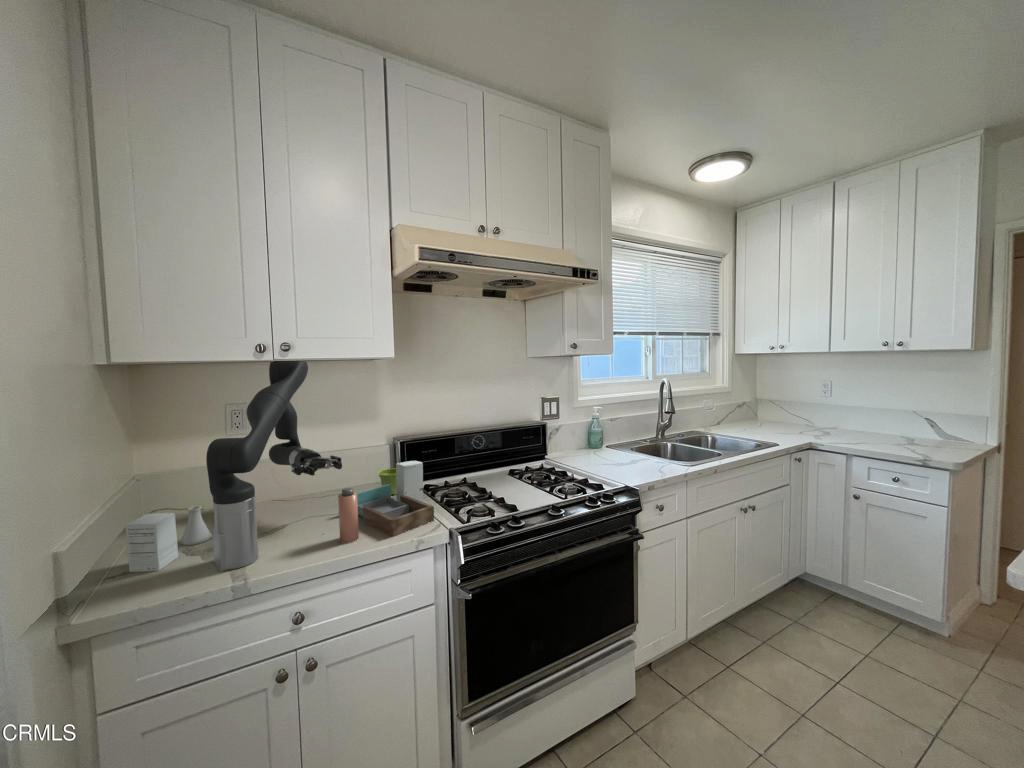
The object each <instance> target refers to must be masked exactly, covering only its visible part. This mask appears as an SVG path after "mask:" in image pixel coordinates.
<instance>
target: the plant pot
mask: <svg viewBox="0 0 1024 768" xmlns="http://www.w3.org/2000/svg"><path fill="white" fill-rule="evenodd" d="M377 474H378V476H379V478H380V482H381V486H384V485H388V484H390V485H391V496H392V495H397V493H396V467H395V468H385V469H381V470H379V471H378V472H377Z"/></svg>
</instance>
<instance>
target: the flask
mask: <svg viewBox="0 0 1024 768" xmlns="http://www.w3.org/2000/svg"><path fill="white" fill-rule="evenodd" d="M186 510H187V512H188V519H187V524H186V526H185V529H184V532H183V535H182V537H181V540H180V542H179V544H182V545H183V546H192V545H193V546H194V545H199V544H202V543H204V542H207V541H208V540H210V539H211V538H213V534H212V533H211V531H210V529H208V527H207V524H206V523H205V521H204V519H203V516H202V514H201V513H202V511H201V510H202V506H201V505H196V506H195V505H194V506H191V507H189V508H187V509H186Z"/></svg>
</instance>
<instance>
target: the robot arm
mask: <svg viewBox="0 0 1024 768" xmlns="http://www.w3.org/2000/svg"><path fill="white" fill-rule="evenodd" d="M268 367H269V368H268V377H269V382H270V383H269V384H270V385H268V386H266V387H263V388H262V389H260V390H259V391H257V393H256V394H255V395H254V396H253V398H252V399H251V400H250V402H249V403H248V405H247V407H246V418H247V420H248V423H249V425H250V428H251V430H250V431H249V433H248V435H246V436H244V437H222V438H215V439H214V440H212V441H211V442H210V443H209V446H208V447H207V450H206V461H205V462H206V469H207V477H208V484H209V492H210V494H211V496H212V504H213V506H212V507H213V519H214V521H213V522H214V528H212V540H213V541H212V542H213V543H212V544H213V558H214V565H215V566H216V567H217V568H218V569H219V570H220V572H224V571H228V570H229V571H230V570H235V569H240V568H244V567H246V566H248V565H250V564H252V563H255V562H256V561H257V560H258V558H259V545H258V544H259V543H258V541H259V540H258V528H257V527H258V524H257V523H258V522H257V510H256V509H257V507H256V492H255V491H256V490H255V485H253V483H251V482H248V481H245V480H243V479H240V478H239V477H237V476H236V475H235V474H246V473H250V472H252V471H253V470H254V469H255V468H256V467H257V466H258V464H259V462H260V460H261V458H262V455H263V453H264V451H265V449H266V446H267V443H268V441H269V439H270V438H271V437H270V436H272V433H273V431H274V435H275V437H276V438H277V439H278V440H284V441H286V442H282V443H275V444H274V445H272V446H271V447H270V448H269V450H268V457H269V459H270V461H271V462H272V463H273V464H275V465H277V466H278V465H279V466H290V467H291V472H292V473H293V474H295V475H297V476H301V475H302V474H303V475H308V476H311V477H312V476H315V474H316V473H315V472H317V471H318V470H324V469H325V470H329V469H331V468H333V469H334V468H335V469H337V470H342V469H343V463H342V457H339V456H335V455H330V456H329V457H323V456H322V455H321V454H320V453H319V452H317V451H315V450H313V449H310V448H307V447H303V446H302V445H301V442H300V439H299V435H298V434H299V433H298V413H297V411H296V409H295V407H294V406H293V404H292V403H291V399H292V398H293V397H294V395H295V393H296V392H297V391H298V389H300V387H301V386H302V385H303V383H304V382H305V379H306V378H307V375H308V371H309V365H308V362H307V360H305V361H274V362H271V361H270V362H269V366H268Z"/></svg>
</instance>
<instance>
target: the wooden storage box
mask: <svg viewBox="0 0 1024 768" xmlns="http://www.w3.org/2000/svg"><path fill="white" fill-rule="evenodd" d="M400 501H401V502H404V503H406V504H409V513H408V514H405V515H402V516H400V517H397V518H392V517H390V516H387V515H385V514H383V513H381V512H379V511H376V510H374V509H372V508H370V507H368V506H364V507H363V519H362V520H363V521H364V522H363V523H365V522H366V523H365V524H367V523H368V524H367V525H369V524H370V525H369V526H371V527H373V528H374V529H377V528H378V529H377V530H379V531H380V532H383V533H385V534H387V535H389V536H391V537H392V536H393V537H396V536H399V535H402V534H404V533H407V532H409V531H408V530H410V529H412V530H414V529H413V528H415V527H417V528H419V527H418V526H420V525H423V524H425V525H427V524H426V523H428V522H430V523H432V522H431V521H433V522H434V521H435V508H434V505H431V504H429V503H426V502H424V501H422V502H421V501H419V500H416V499H413V498H411V497H408V496H405V495H400ZM428 524H429V523H428ZM423 526H424V525H423ZM420 527H421V526H420ZM415 529H416V528H415ZM406 531H407V532H406ZM410 531H411V530H410ZM403 532H404V533H403ZM401 533H402V534H401Z"/></svg>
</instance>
